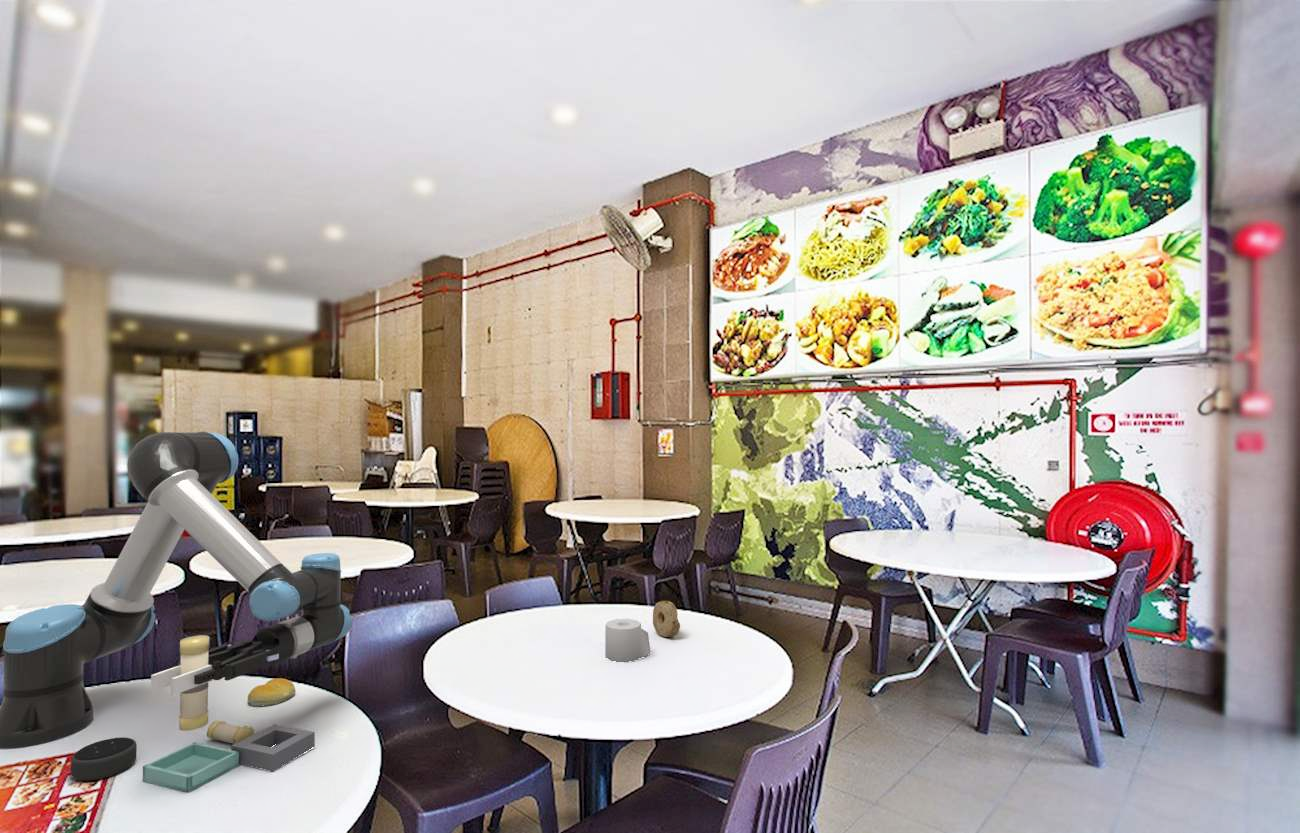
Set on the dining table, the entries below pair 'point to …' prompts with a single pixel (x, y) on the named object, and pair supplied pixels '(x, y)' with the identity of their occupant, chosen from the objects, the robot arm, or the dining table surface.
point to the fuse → (228, 732)
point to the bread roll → (271, 692)
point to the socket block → (286, 749)
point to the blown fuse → (197, 697)
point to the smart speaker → (103, 759)
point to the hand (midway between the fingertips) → (162, 684)
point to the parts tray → (190, 767)
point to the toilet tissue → (625, 640)
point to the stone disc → (665, 619)
